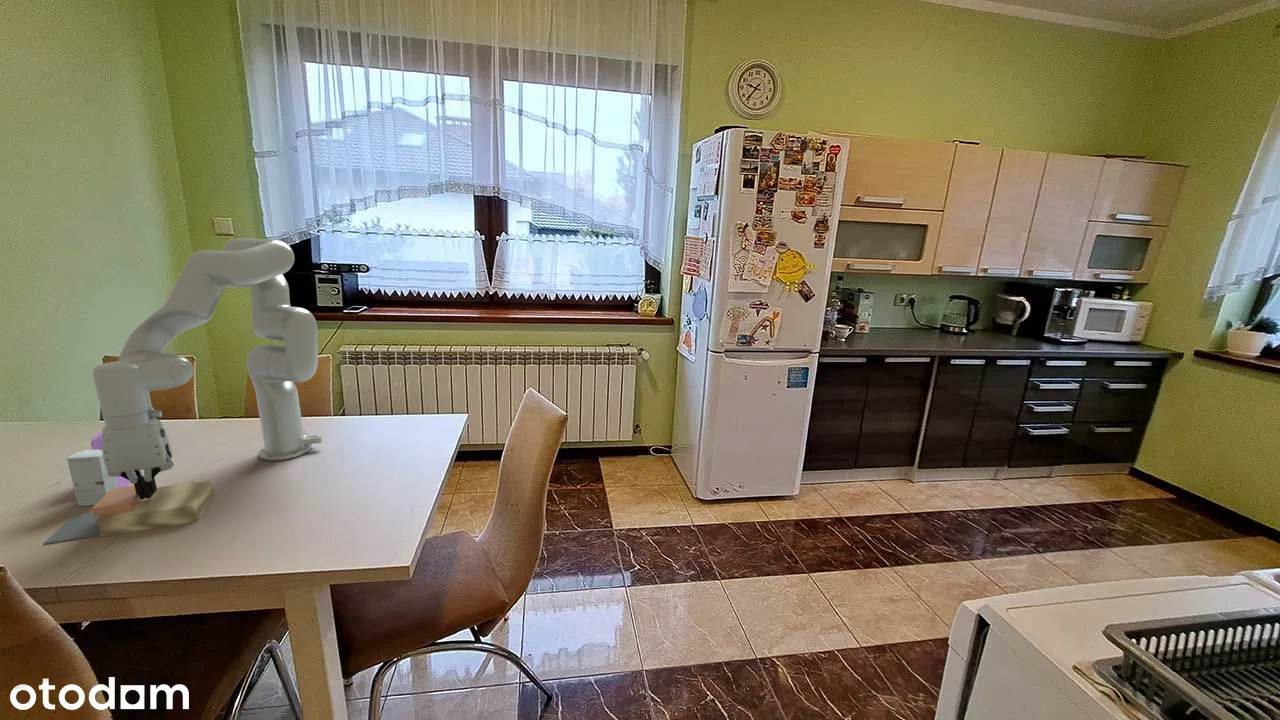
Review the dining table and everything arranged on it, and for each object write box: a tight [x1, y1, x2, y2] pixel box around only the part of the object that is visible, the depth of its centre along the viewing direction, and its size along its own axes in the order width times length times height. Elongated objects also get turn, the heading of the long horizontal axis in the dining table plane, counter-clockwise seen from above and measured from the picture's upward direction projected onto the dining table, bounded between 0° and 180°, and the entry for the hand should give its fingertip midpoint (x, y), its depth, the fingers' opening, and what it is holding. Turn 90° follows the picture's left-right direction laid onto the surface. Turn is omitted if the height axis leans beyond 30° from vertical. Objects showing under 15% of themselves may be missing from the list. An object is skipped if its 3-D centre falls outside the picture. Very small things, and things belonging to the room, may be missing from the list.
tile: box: [91, 484, 141, 517], centre depth 113 cm, size 6×9×2 cm, turn 25°
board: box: [97, 480, 215, 537], centre depth 116 cm, size 16×12×4 cm
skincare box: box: [66, 449, 119, 507], centre depth 119 cm, size 6×4×12 cm
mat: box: [43, 512, 101, 545], centre depth 111 cm, size 9×11×1 cm
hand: (147, 495), depth 114 cm, fingers closed
